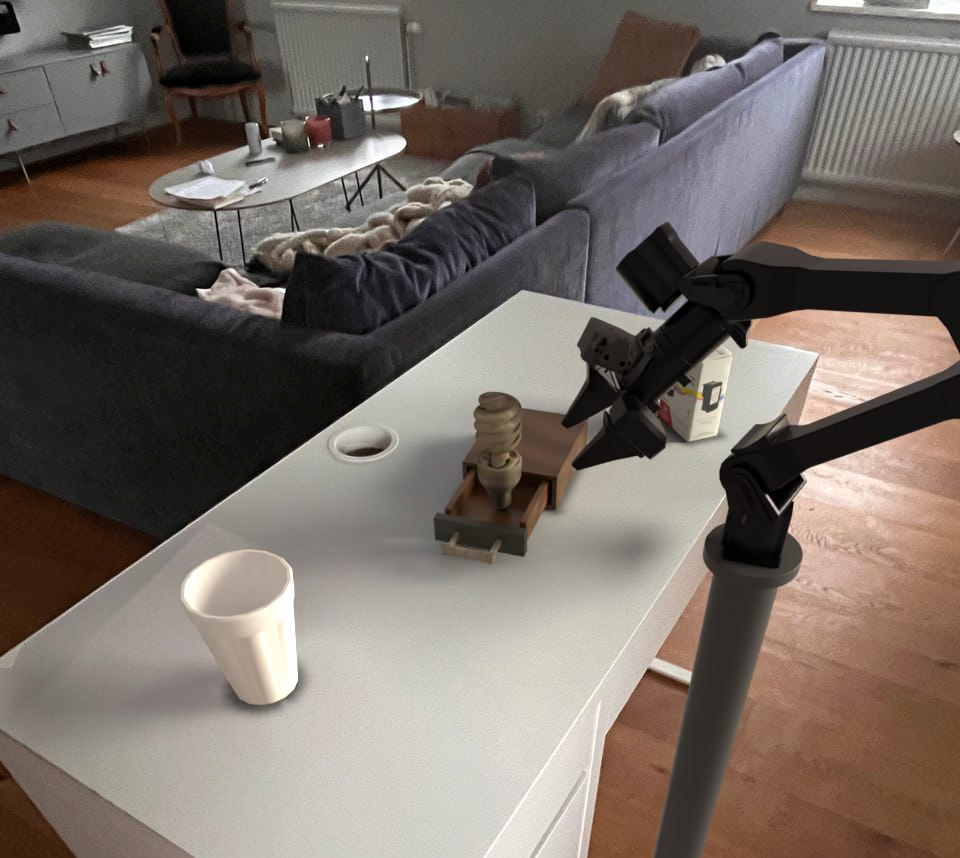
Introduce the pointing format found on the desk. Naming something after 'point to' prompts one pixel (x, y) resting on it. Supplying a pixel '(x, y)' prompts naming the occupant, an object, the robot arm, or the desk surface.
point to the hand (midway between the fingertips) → (568, 445)
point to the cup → (246, 621)
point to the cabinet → (543, 450)
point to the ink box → (698, 398)
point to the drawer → (490, 519)
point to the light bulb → (498, 445)
